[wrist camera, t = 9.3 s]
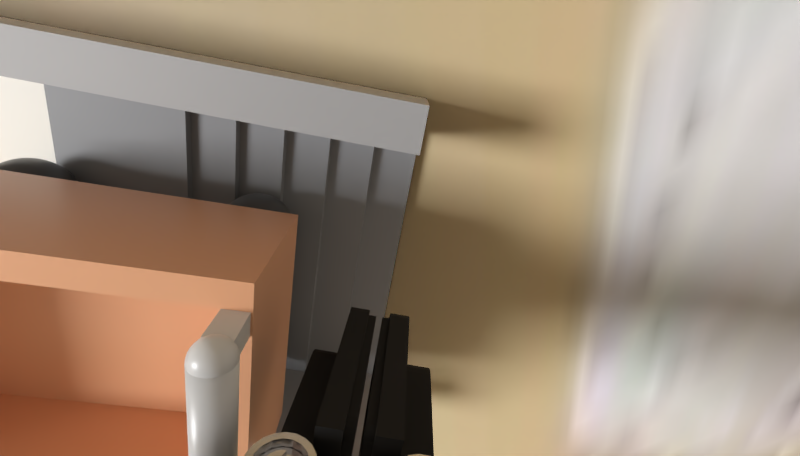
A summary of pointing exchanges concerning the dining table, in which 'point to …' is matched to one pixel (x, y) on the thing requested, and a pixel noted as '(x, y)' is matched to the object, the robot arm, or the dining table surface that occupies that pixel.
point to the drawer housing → (229, 156)
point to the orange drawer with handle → (139, 318)
